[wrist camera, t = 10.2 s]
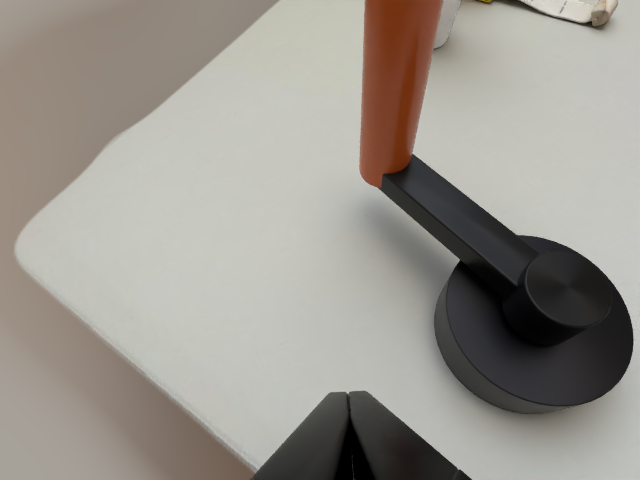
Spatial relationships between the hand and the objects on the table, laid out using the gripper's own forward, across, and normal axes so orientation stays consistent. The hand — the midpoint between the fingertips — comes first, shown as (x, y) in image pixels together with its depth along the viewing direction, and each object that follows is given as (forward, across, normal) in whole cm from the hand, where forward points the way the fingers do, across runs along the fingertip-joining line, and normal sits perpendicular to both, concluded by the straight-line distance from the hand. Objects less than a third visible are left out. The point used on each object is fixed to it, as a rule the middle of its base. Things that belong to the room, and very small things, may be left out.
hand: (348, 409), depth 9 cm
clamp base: (+12, +9, -5) cm, 15 cm away
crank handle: (+12, +6, 0) cm, 13 cm away
